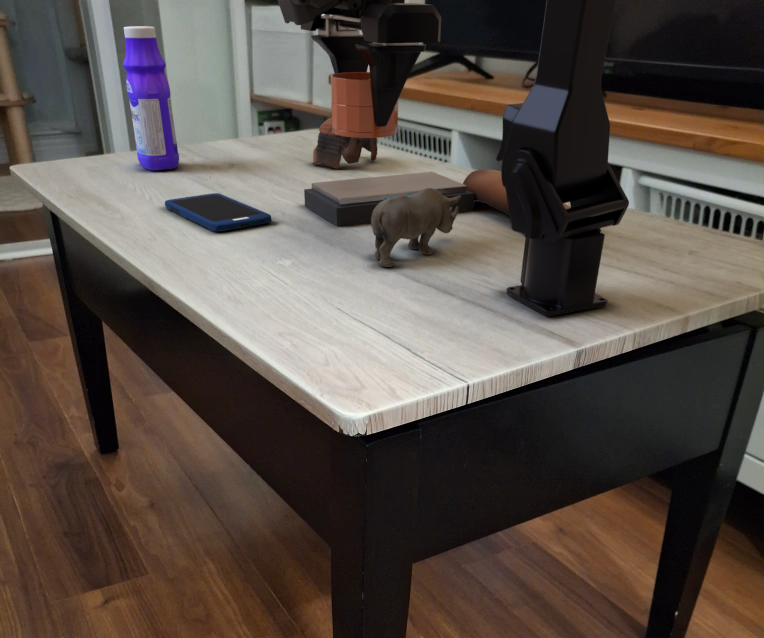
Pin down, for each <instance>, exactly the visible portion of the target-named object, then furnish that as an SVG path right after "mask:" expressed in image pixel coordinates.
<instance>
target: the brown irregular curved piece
mask: <svg viewBox="0 0 764 638" xmlns="http://www.w3.org/2000/svg"><path fill="white" fill-rule="evenodd" d="M318 131H319V133H318V135H317V145H316V146H315V147H314V149H313V155H312V164H313V165H317V164H320V165H321V166H326V167H329V168H333V169H336V170H339V169H340V163H341V160H342V158H343V159H344V161H345V162H346V163H347V164H349V165H350V164H357V163H359V161H360V158H361V156H362V155H361V154H362V150H363V149H365V150H366V151H367V152H369V153H370V161H371V162H375V160H376V159H377V157H378V139H377V138H355V137H346V136H340V135H336V134H334V133H333V132H332V113H331V112H330V117H328V118H327V119H326V120H324V121H323V123H322V124H321V125H320V127H319V129H318Z"/></svg>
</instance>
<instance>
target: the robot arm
mask: <svg viewBox="0 0 764 638" xmlns="http://www.w3.org/2000/svg"><path fill="white" fill-rule="evenodd" d="M616 1H617V0H546V3H545V12H544V19H543V26H542V32H541V40H540V47H539V55H538V61H537V69H536V76H535V79H534V83H533V85H532V87H531V89H530V90H529V92H528V94H527V96H526V97H525V99H524V101H523V102H519V103H512V104H511V103H510V104H507V105H506V106H505V108H504V111H503V115H502V133H501V134H502V135H501V141H500V142H501V143H500V147H499V150H498V152H497V155H496V158H495V159H496V161H497V162H501V167H500V168H501V169H500V171H501V178H502V184H503V187H504V188H506V194H507V201H508V207H509V214H510V216H509V220H510V225H511V230H512V231H513V232H515V233H520V234H522V235H523V236H524V247H523V256H522V264H521V273H520V285H519V284H518V285H515V286H508V287H506V293H505V294H506V295H507V296H510V297H511V298H514V299H515V300H517V301H519V302H520V303H522V304H523V305H526V306H528V307H530V308H531V309H533V310H535V311H536V312H539V313H540V314H542V315H544V316H547V317H552V316H558V315H563V314H569V313H570V314H571V313H574V312H575V313H576V312H580V311H586V310H590V309H597V308H602V307H606V306H608V301H609V300H608V298H606V297H605V296H602V295H600V294H598V293H596V289H597V284H598V278H599V272H600V267H601V266H600V265H601V260H602V254H603V249H604V244H605V243H604V242H605V237H606V234H605V233H603V232H602V229H603V228H607V227H611V226H613V227H615V226H619V224H620V223H621V221H622V220H623V217H624V216H625V214H626V211H627V209H628V208H629V205H630V200H629V199H628V196H627V195H626V193H625V191H624V189H623V187H622V185H621V183H620V181H619V180H618V178H617V176H616V175H615V173H614V171H613V168H612V167H611V164H610V163H609V152H610V137H611V136H610V134H611V122H610V118H609V114H608V110H607V106H606V103H605V99H604V95H603V91H602V79H603V78H602V77H603V73H604V67H605V62H606V55H607V51H608V46H609V45H608V44H609V39H610V34H611V29H612V23H613V17H614V12H615V7H616V3H617V2H616ZM277 3H278V6H279V9H280V12H281V15H282V18H283V20H284V23H285V24H290V22H291V23H294V25H296V26H300V30H302V31H309V32H316V31H317V34H312V35H310V37H311V39H312V41H313V42H315V43H317V44H318V45H319V47H320V48H321V49H322V50H323V51H324V52H325V53H326V54H327V56H328V57H329V60H330V63H331V66H332V67H331V68H332V70H333V74H335V73H343V72H368V70H369V72H370V81H371V93H372V104H373V113H374V120H375V125H376V126H378V127H382V126H386V125H387V123H388V121H389V119H390V116H391V114H392V112H393V110H394V107H395V105H396V103H397V101H398V102H399V98H400V96H401V94H402V91H403V90H404V87H405V85H406V83H407V81H408V78H410V77H409V76H410V75H411V73H412V70H413V69H414V67H415V65H416V64H417V61H418V59H419V58H420V56H421V54H422V53H425V52H426V48H427V44H426V43H440V42H441V34H442V33H441V31H442V16H441V14H440V13H439V12H438V9H436V7H435V5H434V4H429V3H428V4H427V3H417V2H406V0H277ZM360 32H361V34H360ZM424 43H425V44H424ZM563 203H565V204H568V203H569V205H570V207H571V208H569V209H565V207H564V205H563Z"/></svg>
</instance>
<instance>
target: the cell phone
mask: <svg viewBox="0 0 764 638" xmlns="http://www.w3.org/2000/svg"><path fill="white" fill-rule="evenodd" d="M164 206H165V209H167V210H169V211H171V212H174V213H176V214H178V215H179V216H181V217H184V218H186V219H188V220H190V221H192V222H194V223H197V225H200V226H202V227H203V228H206V229H208V230H210V231H213V232H214V233H215V232H225V231H230V230H235V229H236V230H237V229H242V228H248V227H253V226H259V225H264V224H265V225H266V224H270V223H271V222H272V215H271V214H270V213H267V212H265V211H263V210H261V209H258V208H256V207H253V206H251V205H249V204H246V203H243V202H241V201H238V200H236V199H234V198H232V197H229V196H227V195H225V194H221V193H220V192H219V193H218V192H217V193H216V192H214V193H205V194H199V195H192V196H184V197H179V198H172V199H166V200H164Z"/></svg>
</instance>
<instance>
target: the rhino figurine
mask: <svg viewBox="0 0 764 638" xmlns="http://www.w3.org/2000/svg"><path fill="white" fill-rule="evenodd" d="M460 197H461V196H460V195H459V196H457V197H453V198H447V197H445V196H443V195H442V193H441V190H440V189H437V191H436V190H435V189H432V188H425V189H423V190H421V191H420V192H418V193H416V194H414V195H412V196H410V197H407V196H402V195H401V196H398V197H394V198H390V199H386V200H384V201H382V202H380V203H379V204H378V205H377V206H376V207H375V209H374V210H373V213H372V217H371V223H370V224H371V229H372V233H373V235H374V237H375V238H374V246H375V253H374V255H373V256H374V259H376V260H379V261H378V266H380V267H385V268H391V267H393V266H394V265H395V261H394V259H393V258H391V253H392V250H393V249H394V247H395V246H396V244H397V243H398V242H399V241H400V240H401V239H403V240H409V241H408V243H407V248H408V249H411V250H416V249H418V252H419V253H420V254H424V255H431V254H432V253H433V251H434V250H433V248H432V247H430V246H429V242H430V240H431V238H432V237H433V236H434V234H435V232H436V230H438V231H439V232H441V233H443V234H449V233H450V232H451V231H452V230H453V225H454V222H455V220H456V218H457V216H458V214H459V212H458V209H459V208H458V207H456V209H455V211H454V212H453V213H452V207H450V205H452V204H455V203H457V202H459V200H460ZM449 207H450V208H449Z"/></svg>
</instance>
